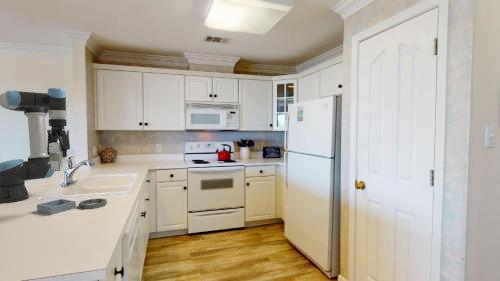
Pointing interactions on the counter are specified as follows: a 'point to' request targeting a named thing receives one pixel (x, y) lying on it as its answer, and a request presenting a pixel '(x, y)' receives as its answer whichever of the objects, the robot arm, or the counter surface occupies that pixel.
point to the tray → (56, 206)
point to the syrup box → (56, 158)
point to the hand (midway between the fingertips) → (59, 162)
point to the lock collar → (99, 201)
